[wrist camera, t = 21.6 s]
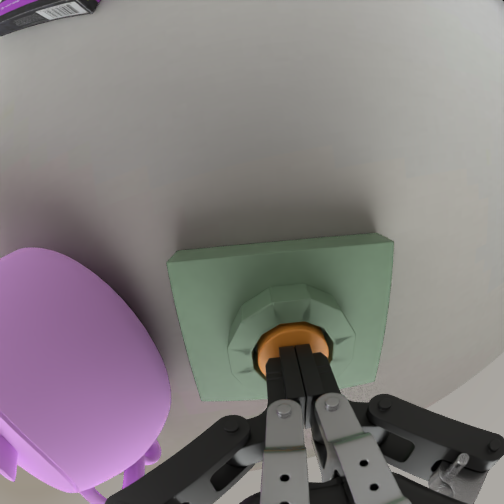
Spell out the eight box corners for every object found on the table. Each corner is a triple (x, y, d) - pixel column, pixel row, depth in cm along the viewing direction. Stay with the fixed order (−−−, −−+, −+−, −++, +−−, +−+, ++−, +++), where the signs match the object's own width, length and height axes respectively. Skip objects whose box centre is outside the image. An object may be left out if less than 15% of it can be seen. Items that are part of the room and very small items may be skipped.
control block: (377, 232, 15) (411, 250, 11) (365, 363, 18) (383, 398, 14) (176, 250, 15) (154, 274, 12) (205, 380, 18) (197, 420, 14)
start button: (322, 308, 14) (331, 325, 12) (320, 360, 15) (327, 379, 13) (254, 315, 14) (254, 333, 12) (259, 367, 15) (260, 387, 13)
